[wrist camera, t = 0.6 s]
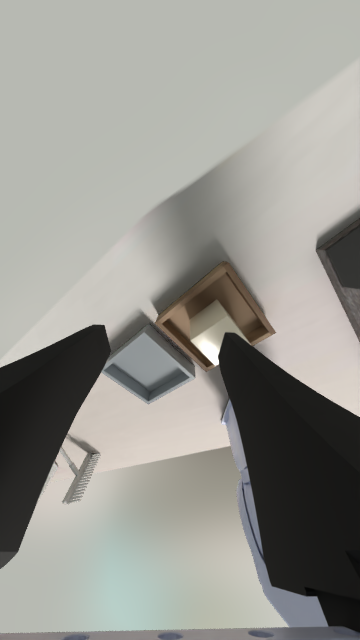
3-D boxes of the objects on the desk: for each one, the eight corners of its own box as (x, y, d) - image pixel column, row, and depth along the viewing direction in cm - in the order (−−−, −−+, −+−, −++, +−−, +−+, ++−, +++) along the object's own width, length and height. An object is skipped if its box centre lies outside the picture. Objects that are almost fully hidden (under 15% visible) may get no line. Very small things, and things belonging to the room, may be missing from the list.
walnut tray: (204, 360, 23) (206, 372, 20) (158, 315, 19) (154, 323, 17) (266, 323, 19) (276, 332, 17) (222, 261, 16) (228, 262, 14)
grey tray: (151, 392, 27) (148, 404, 25) (106, 359, 23) (98, 370, 21) (194, 366, 23) (195, 377, 21) (148, 323, 20) (144, 332, 18)
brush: (56, 374, 33) (11, 408, 24) (101, 452, 40) (80, 501, 31) (42, 377, 33) (-9, 413, 24) (89, 455, 40) (64, 505, 31)
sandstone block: (209, 340, 20) (215, 366, 16) (189, 319, 19) (190, 340, 14) (236, 323, 19) (251, 345, 14) (217, 299, 17) (227, 315, 13)
